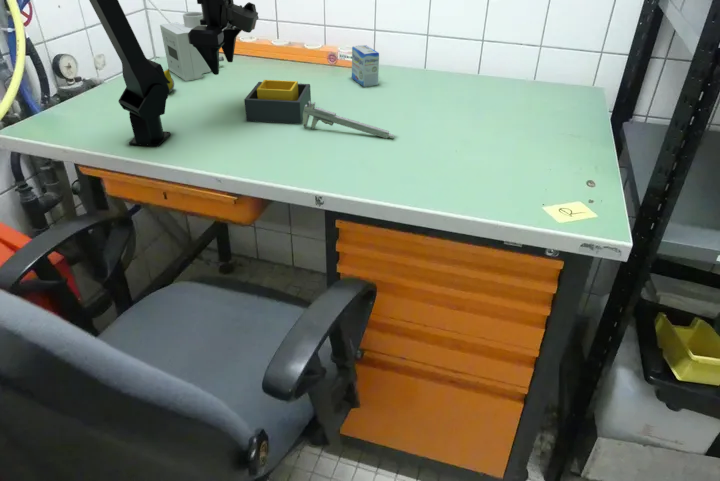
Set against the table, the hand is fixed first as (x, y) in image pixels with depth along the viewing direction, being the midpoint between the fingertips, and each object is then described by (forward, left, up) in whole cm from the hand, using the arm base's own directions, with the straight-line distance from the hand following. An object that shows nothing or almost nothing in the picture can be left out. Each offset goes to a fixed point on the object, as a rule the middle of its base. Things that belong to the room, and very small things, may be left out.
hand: (223, 68), depth 118 cm
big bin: (+2, -12, -11) cm, 16 cm away
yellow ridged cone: (+12, +20, -11) cm, 26 cm away
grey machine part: (+30, +18, -11) cm, 36 cm away
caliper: (-7, -29, -11) cm, 32 cm away
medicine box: (+27, -29, -11) cm, 41 cm away
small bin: (+2, -11, -10) cm, 15 cm away
